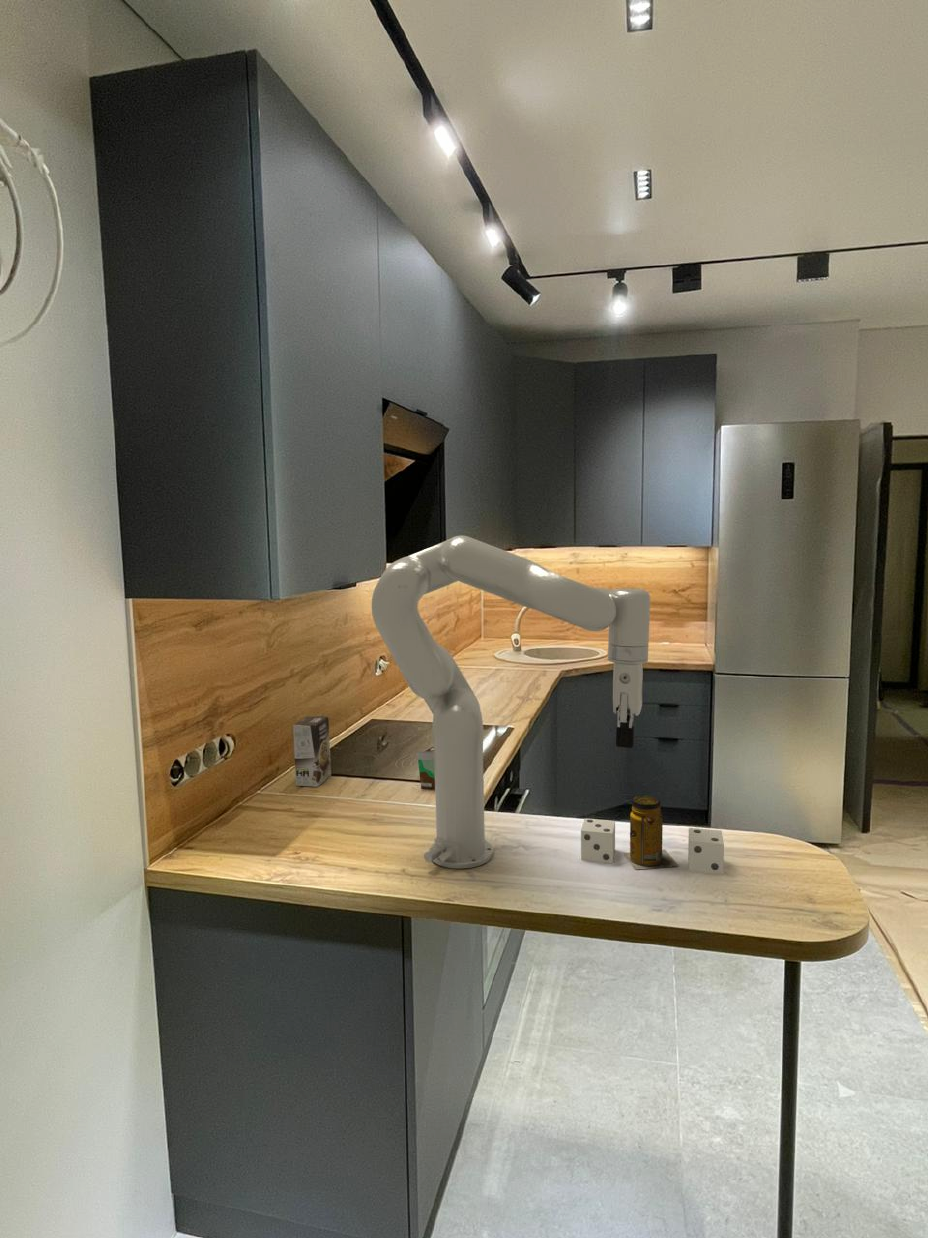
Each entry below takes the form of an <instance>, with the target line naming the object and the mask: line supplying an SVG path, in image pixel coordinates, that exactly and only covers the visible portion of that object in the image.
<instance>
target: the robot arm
mask: <svg viewBox="0 0 928 1238" xmlns="http://www.w3.org/2000/svg"><path fill="white" fill-rule="evenodd" d="M457 582H460V583H462V584H465V585H468V586H469V587H470V586H471V587H473V588H475V589H478V590H481V591H484V592H485V593H489V594H492V595H494V596H496V597H499V598H501V599H503V600H506V601H509V602H513V603H514V604H517V605H519V606H521V607H525V608H528V609H531V610H534V611H537V612H540V613H542V614H545V615H547V616H551V617H553V618H555V619H557V620H560V621H562V622H565V623H568V624H571V625H574V626H575V627H579V628H581V629H584V630H586V631H590V632H600V631H604V630H606V629H607V628H608V640H607V641H608V643H607V645H608V647H607V661H608V662H611V663H613V673H612V674H613V677H612V711H613V713H614V714H615V715H617V724H616V727H615V728H616V732H615V733H616V734H615V735H616V736H615V746H616V747H617V748H624V749H625V748H626V749H633V747H634V739H635V737H634V736H635V725H634V717H635V716H636V717H637V716H639V715H640V713H641V710H642V707H643V676H644V673H643V671H644V670H643V665H644V664H647V663H648V662H649V641H650V639H649V638H650V616H651V595H650V593H649V592H648V591H647V590H645V589H640V588H617V589H610V588H600V587H599V588H598V587H595V586H593V587H592V586H588V585H587V584H583V583H581V582H578V581H576V580H574V579H571V578H568V577H566V576H563V575H561V574H559V573H556V572H554V571H552V570H550V569H547V568H545V567H544V566H543V565H541V564H539V563H537V562H535V561H532V560H530V559H527V558H526V557H522V556H520V555H517V554H515V553H512V552H509V551H506V550H504V549H501V548H499V547H497V546H493V545H491V544H488V543H486V542H484V541H481V540H479V539H476V538H473V537H470V536H469V535H468V536H467V535H455V536H452V537H451V538H449V539H446V540H445V541H442V542H440V543H437V544H434V545H433V546H430V547H427V548H425V549H422V550H420V551H417V552H415V553H412V554H408V556H404V557H401V558H399V559H397V560H395V561H393V562H392V563H390V565H388V566H387V567H386V568H385V570H384V571H383V573H382V574H381V576H380V577H379V578H378V581H377V583H376V585H375V587H374V589H373V594H372V598H371V614H372V615H371V616H372V619H373V623H374V625H375V627H376V629H377V631H378V633H379V635H380V637H381V639H382V641H383V642H384V644H385V646H386V648H387V649H388V651H389V653H390V655H391V658H393V660H394V662H395V664H396V665H397V667H398V669H399V670H400V672H401V674H402V675H403V677H404V679H405V682H406V683H407V685H408V687H409V690H411V691H412V692H413V693H414V694H415V695H416V696H417V697H420V698H421V699H423V700H424V701H425V703H426V705H427V706H428V708H429V710H430V711H431V713H432V715H433V717H432V745H433V746H432V747H433V749H434V774H435V790H434V795H435V798H434V799H435V800H434V801H435V826H436V827H435V829H436V837H435V838H434V843H433V844H432V845H430V847H429V850H428V851H426V852H425V853H424V854H423V859H424V860H425V862H426V863H432V862H433V863H435V864H436V865H438V866H441V867H444V868H448V869H457V870H458V869H459V870H460V869H471V868H476V867H479V866H481V865H484V864H486V863H487V862H489V861H490V860H491V859H492V857H493V856H494V848H493V845H492V844H491V843H490V842H489V841H487V840H486V839H485V838H486V833H485V831H486V830H485V790H484V788H485V787H484V785H485V782H484V722H483V721H484V720H483V714H482V709H481V705H480V702H479V700H478V698H477V695H476V694H475V692H474V691H473V689H472V688H471V687H470V685H469V682H468V681H467V679H466V678H465V675H464V674H463V673H462V671H461V669H460V668H459V666H458V665H459V664H457V662H456V660H455V659H454V657H453V656H452V655H451V653H450V652H449V650H447V648H445V647H444V646H442V645H440V644H438V643H437V642H436V640H435V639H434V637H433V635H432V633H431V632H430V630H429V628H428V626H427V625H426V623H425V622H424V620H423V618H422V616H421V614H420V613H419V608H418V604H419V601H420V600H421V599H422V597H423V596H425V595H427V594H429V593H432V592H434V591H437V590H440V589H442V588H445V587H447V586H450V585H453V584H455V583H457ZM634 715H635V716H634Z"/></svg>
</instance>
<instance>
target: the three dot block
mask: <svg viewBox="0 0 928 1238" xmlns="http://www.w3.org/2000/svg"><path fill="white" fill-rule="evenodd" d="M615 852H616V821H615V820H609V819H607V820H605V819H595V818H584V819H583V822H582V826H581V829H580V861H589V862H590V861H591V862H599V863H608V864H613V863H614V857H615Z"/></svg>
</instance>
